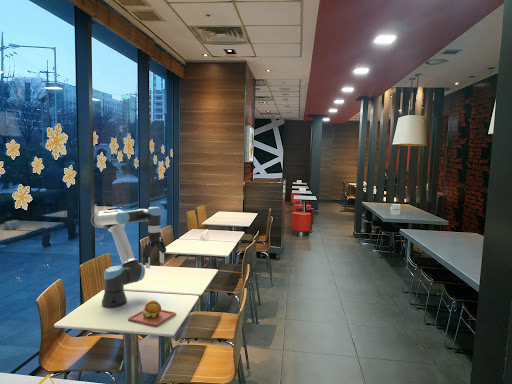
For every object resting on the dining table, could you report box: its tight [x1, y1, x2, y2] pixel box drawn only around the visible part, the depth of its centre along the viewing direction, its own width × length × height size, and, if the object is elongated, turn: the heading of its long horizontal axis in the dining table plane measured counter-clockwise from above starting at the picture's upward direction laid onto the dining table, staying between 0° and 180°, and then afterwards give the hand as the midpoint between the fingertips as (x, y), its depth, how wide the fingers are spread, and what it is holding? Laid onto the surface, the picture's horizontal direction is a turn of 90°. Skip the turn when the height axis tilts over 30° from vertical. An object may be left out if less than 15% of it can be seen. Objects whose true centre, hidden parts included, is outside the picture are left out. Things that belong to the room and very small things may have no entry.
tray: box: [127, 309, 177, 328], centre depth 216 cm, size 20×18×2 cm
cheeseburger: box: [141, 299, 162, 319], centre depth 216 cm, size 10×11×10 cm
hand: (155, 265), depth 230 cm, fingers open, 13 cm apart
